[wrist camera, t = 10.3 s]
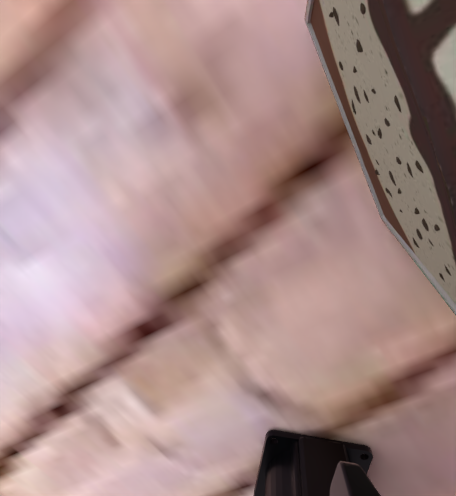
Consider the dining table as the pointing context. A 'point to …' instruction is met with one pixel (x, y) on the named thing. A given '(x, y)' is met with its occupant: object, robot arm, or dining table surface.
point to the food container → (399, 115)
